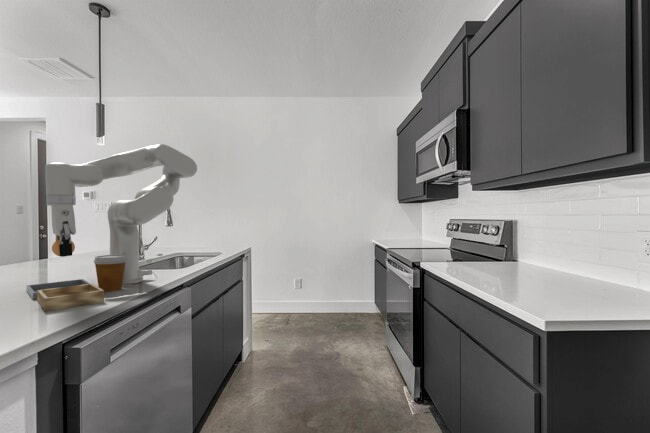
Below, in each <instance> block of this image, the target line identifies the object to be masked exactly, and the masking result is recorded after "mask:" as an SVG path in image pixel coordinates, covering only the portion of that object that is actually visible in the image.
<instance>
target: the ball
mask: <svg viewBox="0 0 650 433" xmlns="http://www.w3.org/2000/svg"><path fill="white" fill-rule="evenodd" d="M71 243H72V254H73V252H74V251H75V249H76V245H75V243H74V242H73V241H72V240H71ZM59 244H60V239H59V240H57V241H56V240H55V241H54V242H53V243H52V246H51V251H52V253H53V254H54V255H56V256H57V257H60V252H59ZM64 257H65V258H66V256H64Z"/></svg>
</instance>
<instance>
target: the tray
mask: <svg viewBox="0 0 650 433" xmlns="http://www.w3.org/2000/svg"><path fill="white" fill-rule="evenodd" d="M36 301H37V302H38V304H40V307H41V309H42V310H43V312H51V311H57V310H58V311H59V310H64V309H69V308H75V307H81V306H87V305H93V304H100V303H104V302H105V292H104V290H103V289H101V288H99V287H98V285H96V284H94V283H91V284H85V285H76V286H68V287H60V288H52V289H44V290H37V299H36Z"/></svg>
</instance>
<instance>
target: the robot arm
mask: <svg viewBox="0 0 650 433" xmlns="http://www.w3.org/2000/svg"><path fill="white" fill-rule="evenodd" d="M160 166H161V167H162V166H163V167H162V176H161V178H160V179H159V180H157V181H156V182H154V183H152V184H150V185H148V186H146V187H144V188H142V189H140V190H139V191H138V192H137V193H136V195H135V196H134V199H120V200H117V201H114V202H113V203H112V204H110V205H109V207H108V209H107V220H108V226H109V255H125V256H126V259H127V260H126V262H125V268H124V275H123V282H122V285H128V284H129V285H130V284H131V285H134V284H139V283H142V282H143V281H144V276H151V275H153V270H152V269H147V270H146V269H145V270H143V269H140V268H139V266H140V263H139V262H140V234H139V228H138V226H142V225H144V224H147V223H148V222H150V221H152V220H154V219H156V218H157V217H158V216H160V215H161V214H163V213H165V212H166V211H168V210H169V209H170V208H171V206H172V205H173V202H174V196H175V195H176V194H177V193H178V192H179V189H180V181H181V180H180V179H186V178H191V177H193V176H195V175H196V173H197V172H198V165H197V163H196V161H195V160H194V159H193V158H191V157H190V156H188V155H186V154H184V153H183V152H181V151H179V150H178V149H176V148H174V147H172V146H170V145H166V144H163V143H159V144H153V145H148V146H144V147H141V148H136V149H133V150H129V151H128V150H127V151H125V152H121V153H118V154H113V155H111V156H107V157H105V158H101V159H97V160H92V161H89V162H86V163H81V164H70V163H65V162H50V163H47V164H45V167H44V173H45V196H46V199H45V200H46V206H51V208H50V209H51V211H50V212H51V227H52V233H53V235H55V241H57V240H59V239H60V244H59V252H60V256H59V257H60V258H61V257H64V256H65V257H72V256H73V253H72V243H71V241H72V236H71V235H74V236H75V235H76V234H77V228H76V218H75V209H74V206H76V205H77V203H76V199H77V198H76V187H77V188H83V187H95V186H98V185H99V184H101V183H102V182H103V181H104V180H109V179H113V178H121V177H126V176H130V175H134V174H137V173H140V172H142V171H143V172H144V171H147V170H150V169H153V168H156V167H160Z"/></svg>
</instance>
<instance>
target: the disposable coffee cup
mask: <svg viewBox="0 0 650 433" xmlns="http://www.w3.org/2000/svg"><path fill="white" fill-rule="evenodd" d="M126 260H127V259H126V256H125V255H110V254H105V255H97V256H95V257H94V260H93V263H94V265H95V273H96V279H97V287H99V288H101V289H103V290H104V293H110V292H111V293H112V292H117V291H120V290H122V287H123V284H122V282H123V275H124V268H125V262H126Z"/></svg>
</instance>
